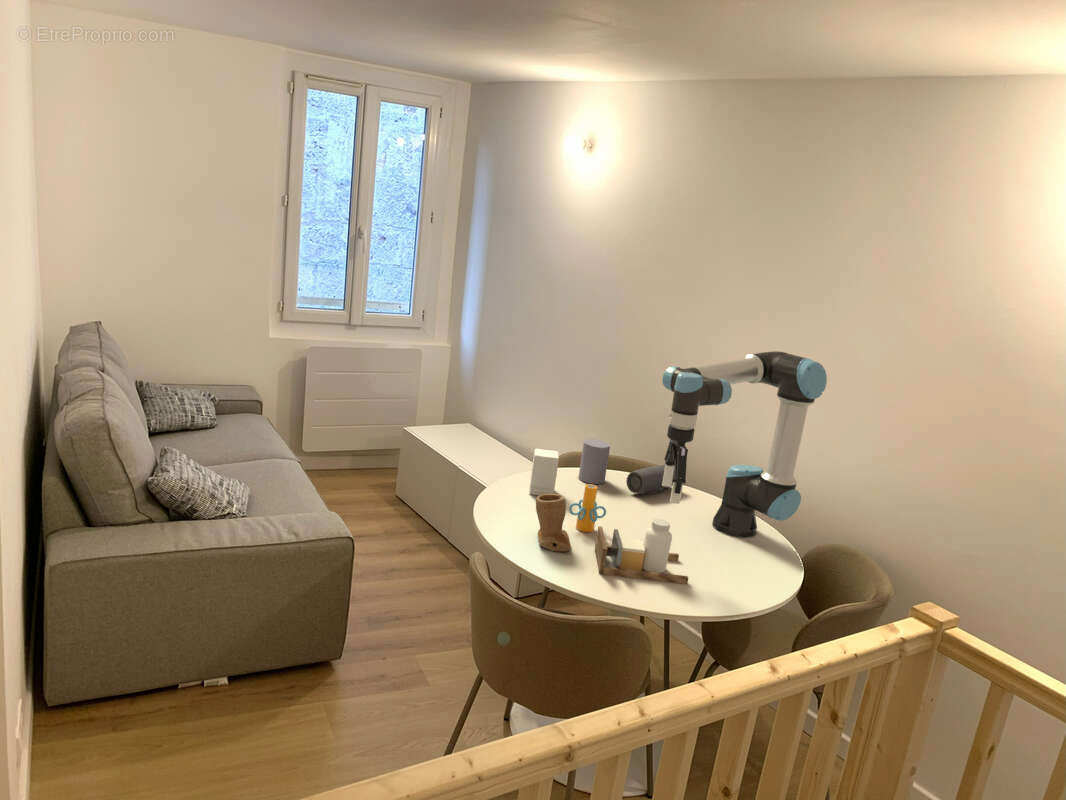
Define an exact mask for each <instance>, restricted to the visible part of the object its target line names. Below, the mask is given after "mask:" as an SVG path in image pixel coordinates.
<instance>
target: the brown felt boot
mask: <svg viewBox="0 0 1066 800" xmlns="http://www.w3.org/2000/svg"><path fill="white" fill-rule="evenodd" d="M566 510H567V502H566V498H565V497H564V496H563V495H561V494H558V493H554V494H543V495H537V497H536V498H535V511H536V515H537V518H538V519H537V520H538V523H539V529H538V530H537V539H538V543H539V545H540V546H541V547H543V548H545V549H547V550H549V551H552V552H567V551H569V550H570V551H571V549H572V546H571V542H570V536H569V533H568V531H566V530H564V529H563V524H564V521H565V517H566V515H567V514H566V513H567V512H566Z"/></svg>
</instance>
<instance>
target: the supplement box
mask: <svg viewBox="0 0 1066 800" xmlns="http://www.w3.org/2000/svg"><path fill="white" fill-rule="evenodd" d="M559 456H560V455H559V451H557V450H552V449H551V450H549V449H543V448H535V449H534V451H533V460H532V466H531V467H532V468H531V474H530V475H531V476H530V482H529V492H528V493H529V495H532V496H540V495H543V494H555V488H556V487H555V486H556V481H557V476H558V475H557V474H558V469H559V460H560V457H559Z"/></svg>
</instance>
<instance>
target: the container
mask: <svg viewBox="0 0 1066 800" xmlns="http://www.w3.org/2000/svg"><path fill="white" fill-rule="evenodd" d="M610 449H611V444H610V443H609V442H607V441H604V440H601V439H595V438H594V439H593V438H589V439H588V438H587V439H584V441H583V445H582V453H581V458H580V464H579V473H578V479H579V480H580V481H581V482H584V483H587V484H592V485H600V484H604V483H605V482H606V481H605V480H606V474H607V469H608V463H609V456H610Z"/></svg>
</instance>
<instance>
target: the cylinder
mask: <svg viewBox="0 0 1066 800" xmlns="http://www.w3.org/2000/svg"><path fill="white" fill-rule="evenodd" d="M597 493H598V486H597V485H596V484H590V483H587V484H585V485H584V491H583V499H580V500H579V502H574V503H571V504H570V506H569V508H568V511H569V513H570V515H573V516H577V517H576V525H575V528H576V530H577V531H579V532H583V533H592V532H594V531H595V525H596V522H597V521H598V519H602V518H604V517H605V516H606V515H607V509H606V508H605V507H604V505H598V504H597V501H596V499H597ZM575 506H576V507H578V512H573V510H572V508H573V507H575ZM599 509H602V510H603V514H601V515H598V512H597V510H599Z"/></svg>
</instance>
